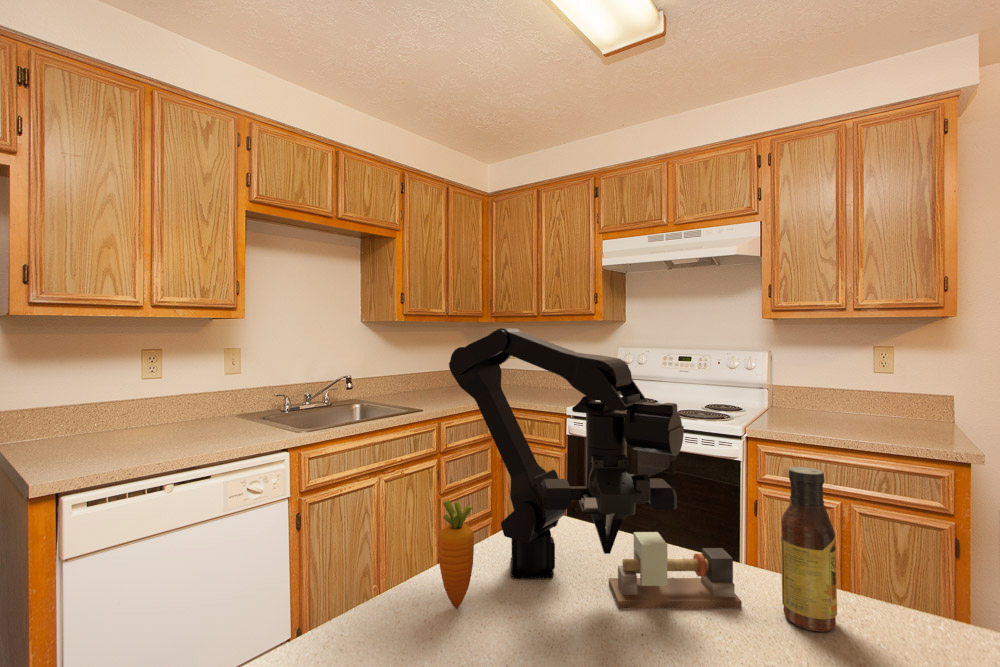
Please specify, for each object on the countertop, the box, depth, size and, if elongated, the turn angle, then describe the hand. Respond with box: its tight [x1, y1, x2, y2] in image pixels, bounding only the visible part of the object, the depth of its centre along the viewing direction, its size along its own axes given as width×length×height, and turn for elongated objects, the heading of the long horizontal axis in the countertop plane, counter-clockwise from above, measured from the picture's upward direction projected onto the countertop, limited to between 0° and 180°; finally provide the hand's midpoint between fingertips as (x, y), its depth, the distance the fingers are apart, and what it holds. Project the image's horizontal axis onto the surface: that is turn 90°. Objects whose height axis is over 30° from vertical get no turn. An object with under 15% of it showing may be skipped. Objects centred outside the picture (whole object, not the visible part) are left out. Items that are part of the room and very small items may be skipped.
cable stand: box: [608, 547, 743, 609], centre depth 73 cm, size 17×6×6 cm, turn 90°
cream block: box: [633, 531, 668, 586], centre depth 73 cm, size 4×4×6 cm
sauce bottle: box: [780, 466, 838, 633], centre depth 66 cm, size 7×6×20 cm
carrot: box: [437, 499, 475, 609], centre depth 70 cm, size 5×5×15 cm
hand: (606, 552), depth 73 cm, fingers closed
